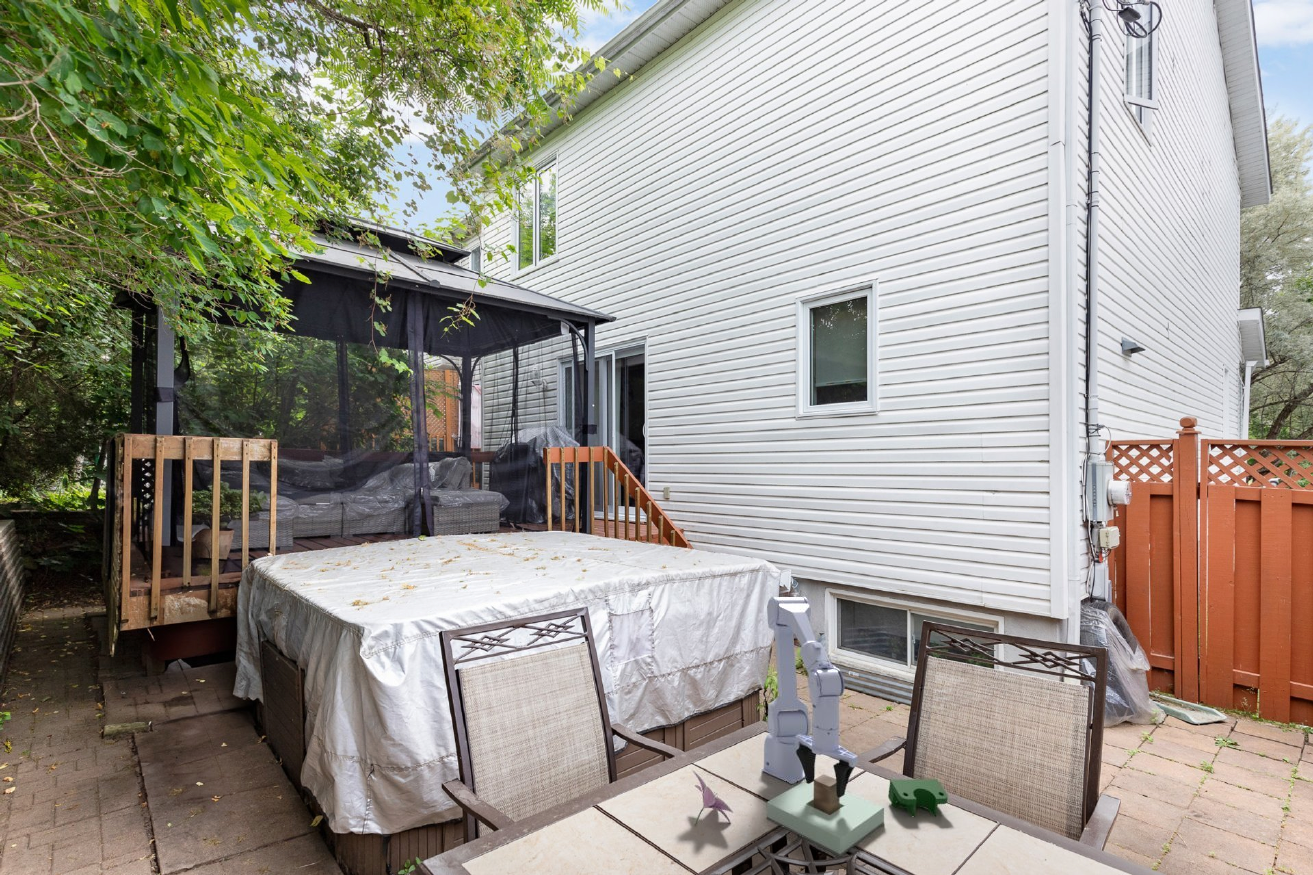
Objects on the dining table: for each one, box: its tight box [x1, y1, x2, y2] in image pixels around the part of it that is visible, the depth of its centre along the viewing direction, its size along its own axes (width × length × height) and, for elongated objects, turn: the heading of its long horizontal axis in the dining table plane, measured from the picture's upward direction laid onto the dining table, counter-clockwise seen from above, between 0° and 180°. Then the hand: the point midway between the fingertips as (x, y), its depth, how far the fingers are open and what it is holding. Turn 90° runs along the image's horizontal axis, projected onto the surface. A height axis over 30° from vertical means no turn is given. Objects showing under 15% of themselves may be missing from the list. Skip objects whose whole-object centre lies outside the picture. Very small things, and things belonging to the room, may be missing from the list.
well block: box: [765, 777, 885, 857], centre depth 135 cm, size 18×18×4 cm
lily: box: [691, 769, 734, 827], centre depth 134 cm, size 12×12×10 cm
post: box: [814, 773, 840, 815], centre depth 136 cm, size 4×4×8 cm
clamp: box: [887, 778, 949, 817], centre depth 141 cm, size 12×6×9 cm, turn 90°
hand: (825, 788), depth 136 cm, fingers open, 7 cm apart
